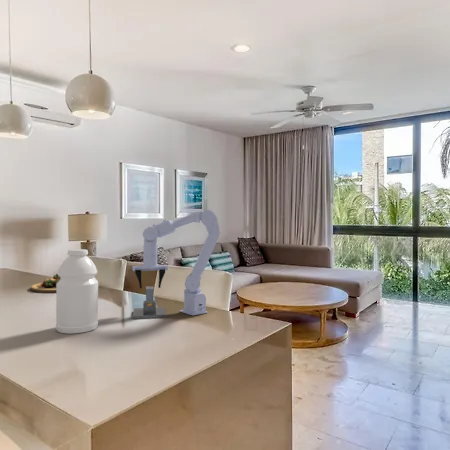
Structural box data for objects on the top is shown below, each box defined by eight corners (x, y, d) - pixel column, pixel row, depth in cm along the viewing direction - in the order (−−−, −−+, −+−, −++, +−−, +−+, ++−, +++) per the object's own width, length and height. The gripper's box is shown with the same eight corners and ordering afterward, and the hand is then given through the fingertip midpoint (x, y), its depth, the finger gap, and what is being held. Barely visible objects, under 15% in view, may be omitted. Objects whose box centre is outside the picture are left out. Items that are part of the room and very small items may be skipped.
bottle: (57, 325, 135) (58, 248, 135) (97, 321, 139) (98, 248, 139) (54, 336, 121) (55, 251, 121) (98, 332, 126) (99, 250, 126)
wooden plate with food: (36, 285, 222) (36, 271, 222) (92, 283, 232) (92, 270, 232) (24, 295, 192) (24, 279, 192) (89, 292, 201) (89, 277, 201)
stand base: (165, 310, 159) (165, 298, 159) (166, 317, 147) (166, 304, 146) (134, 311, 157) (134, 299, 157) (132, 319, 144) (132, 305, 144)
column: (153, 302, 153) (153, 286, 153) (153, 304, 150) (153, 287, 150) (145, 302, 153) (146, 286, 153) (145, 304, 150) (145, 287, 150)
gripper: (132, 256, 149) (132, 289, 149) (168, 256, 152) (168, 288, 152) (133, 255, 156) (132, 287, 156) (167, 254, 159) (167, 286, 159)
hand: (150, 287), depth 155 cm, fingers open, 7 cm apart
